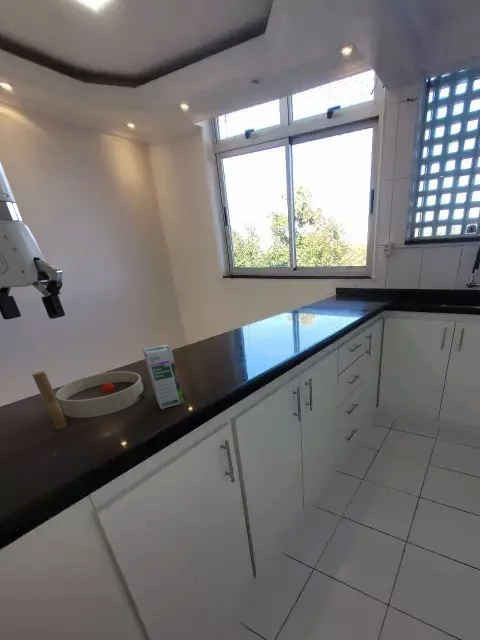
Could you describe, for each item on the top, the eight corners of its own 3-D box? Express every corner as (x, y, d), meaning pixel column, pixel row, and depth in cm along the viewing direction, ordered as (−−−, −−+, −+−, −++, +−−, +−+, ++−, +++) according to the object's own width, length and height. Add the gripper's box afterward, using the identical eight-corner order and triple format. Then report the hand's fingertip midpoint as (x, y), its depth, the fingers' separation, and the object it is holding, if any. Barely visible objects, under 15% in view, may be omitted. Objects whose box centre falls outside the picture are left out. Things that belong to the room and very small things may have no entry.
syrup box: (160, 410, 76) (145, 353, 69) (156, 401, 80) (141, 347, 74) (184, 403, 79) (171, 348, 72) (179, 395, 83) (166, 343, 77)
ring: (45, 421, 73) (37, 404, 71) (85, 388, 90) (80, 374, 88) (129, 414, 75) (124, 397, 73) (154, 383, 92) (150, 369, 90)
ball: (101, 396, 83) (98, 386, 82) (106, 391, 86) (103, 381, 85) (113, 395, 84) (109, 385, 82) (117, 390, 86) (114, 380, 85)
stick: (54, 429, 69) (29, 375, 64) (59, 424, 71) (36, 371, 66) (64, 428, 70) (40, 374, 64) (69, 423, 71) (47, 370, 66)
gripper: (-77, 216, 50) (-24, 322, 58) (18, 210, 48) (60, 321, 56) (-28, 220, 57) (13, 314, 65) (57, 215, 55) (89, 313, 63)
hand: (35, 317), depth 60 cm, fingers open, 9 cm apart
